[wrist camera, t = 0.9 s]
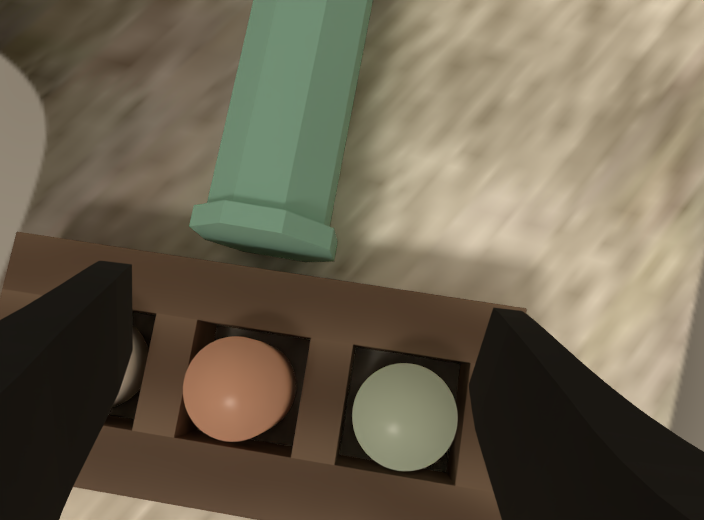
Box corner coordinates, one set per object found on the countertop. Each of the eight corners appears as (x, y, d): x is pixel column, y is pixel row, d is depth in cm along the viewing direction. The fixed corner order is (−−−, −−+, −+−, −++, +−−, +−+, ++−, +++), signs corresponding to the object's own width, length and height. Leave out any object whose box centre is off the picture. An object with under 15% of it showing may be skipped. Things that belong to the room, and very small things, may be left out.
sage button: (441, 466, 24) (450, 479, 21) (348, 450, 24) (344, 461, 21) (453, 371, 25) (463, 371, 22) (362, 357, 25) (360, 355, 22)
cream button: (138, 415, 25) (106, 421, 22) (52, 400, 25) (8, 404, 22) (157, 325, 26) (129, 318, 23) (72, 311, 26) (33, 303, 23)
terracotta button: (287, 440, 25) (275, 449, 22) (198, 425, 25) (173, 432, 22) (303, 347, 25) (293, 345, 22) (215, 333, 25) (194, 329, 22)
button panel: (484, 540, 25) (498, 562, 22) (4, 455, 26) (-43, 466, 23) (510, 315, 27) (526, 308, 24) (54, 246, 28) (16, 231, 25)
